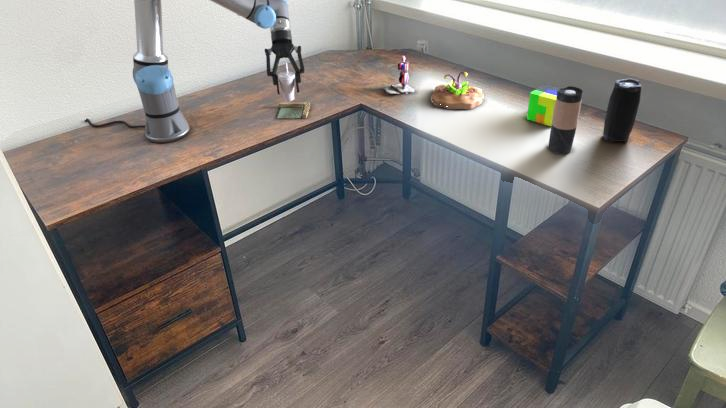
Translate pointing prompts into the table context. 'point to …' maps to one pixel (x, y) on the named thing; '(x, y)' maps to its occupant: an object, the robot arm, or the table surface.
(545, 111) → the puzzle toy
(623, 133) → the portable speaker
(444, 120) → the table surface
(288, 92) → the smoothie
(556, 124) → the travel mug
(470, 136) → the table surface
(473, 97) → the plant
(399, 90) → the statue
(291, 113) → the corner guide
